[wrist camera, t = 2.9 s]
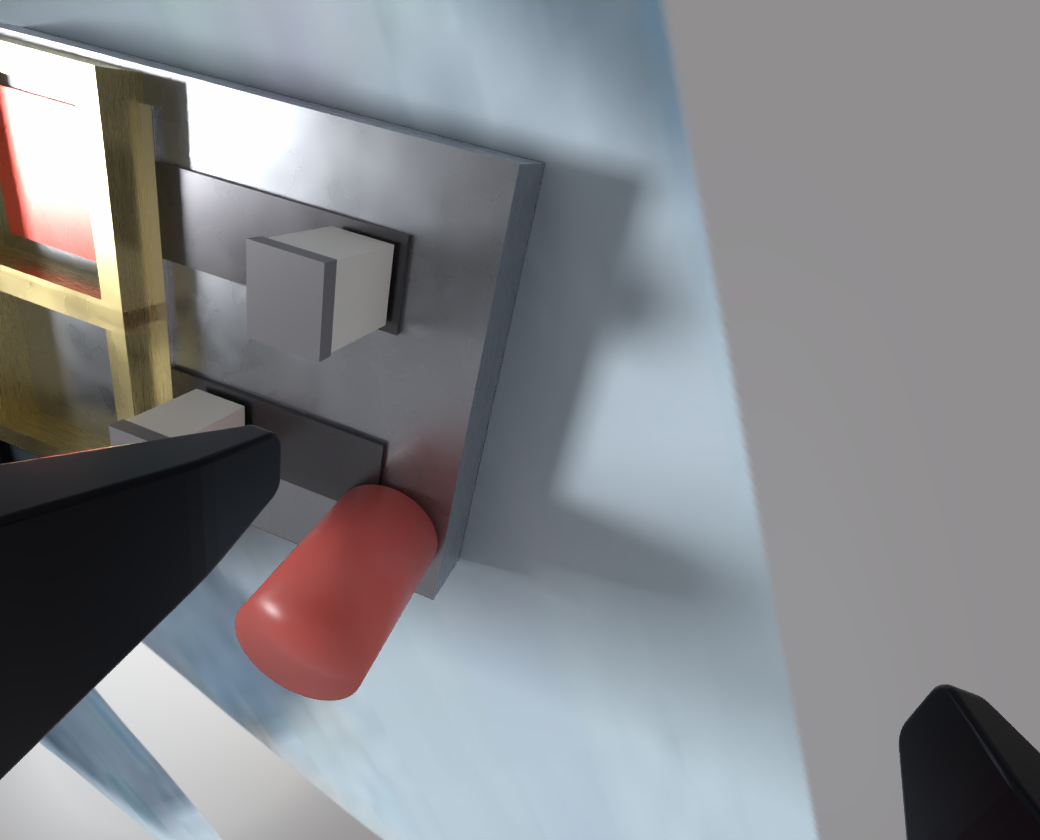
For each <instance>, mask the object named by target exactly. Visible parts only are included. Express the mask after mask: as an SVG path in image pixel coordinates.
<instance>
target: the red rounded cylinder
mask: <svg viewBox="0 0 1040 840" xmlns="http://www.w3.org/2000/svg"><path fill="white" fill-rule="evenodd" d="M437 546H438V540H437V534H436V530H435V528H434V525H433V523H432V521H431V519H430V518H429V516H428V515H427V513H426V512H425V511H424V510H423V509H422V508H421V507H420V506H419V505H418V504H417V503H416V502H415V501H414V500H412V499H411V498H410V497H408V496H406V495H405V494H403V493H401V492H399V491H397V490H395V489H392V488H389V487H386V486H382V485H373V484H369V485H361V486H357V487H354V488H352V489H350V490H349V491H347V492H346V493H345V494H344V495H343V496H342V497H341V498H340V499H339V500H338V502H337V503H336V504H335V505H334V506H333V507H332V508H331V509H330V510H329V511H328V513H327V514H326V515H325V516H324V517H323V518H322V519H321V520H320V521H319V522H318V524H317V525H316V526H315V527H314V528H313V529H312V530H311V531H310V532H309V533H308V535H307V536H306V537H305V538H304V539H303V540H302V541H301V542H300V543H299V545H298V546H297V547H296V548H295V549H294V550H293V551H292V552H291V553H290V554H289V556H288V557H287V558H286V559H285V560H284V561H283V562H282V563H281V564H280V565H279V567H278V568H277V569H276V570H275V571H274V572H273V573H272V574H271V575H270V576H269V578H268V579H267V580H266V581H265V582H264V583H263V584H262V585H261V586H260V587H259V589H258V590H257V591H256V592H255V593H254V594H253V595H252V596H251V597H250V598H249V600H248V601H247V602H246V603H245V604H244V605H243V606H242V607H241V609H240V610H239V611H238V613H237V616H236V620H235V630H236V635H237V638H238V641H239V643H240V645H241V647H242V649H243V650H244V652H245V653H246V655H247V656H248V658H249V659H250V660H251V661H252V662H253V663H254V665H255V666H256V667H257V668H258V669H259V670H261V671H262V672H263V673H264V674H265V675H266V676H268V677H269V678H270V679H272V680H273V681H274V682H276V683H278V684H279V685H281V686H282V687H284V688H286V689H288V690H290V691H292V692H295V693H297V694H299V695H302V696H305V697H309V698H312V699H318V700H327V701H330V700H340V699H344V698H347V697H349V696H350V695H352V694H353V693H355V692H356V691H357V689H358V688H359V687H360V685H361V683H362V681H363V680H364V678H365V676H366V674H367V673H368V671H369V669H370V668H371V666H372V664H373V662H374V661H375V659H376V657H377V655H378V654H379V652H380V650H381V649H382V647H383V645H384V643H385V642H386V640H387V638H388V636H389V635H390V633H391V631H392V629H393V628H394V626H395V624H396V623H397V621H398V619H399V617H400V616H401V614H402V612H403V610H404V609H405V607H406V605H407V604H408V602H409V600H410V598H411V597H412V595H413V593H414V591H415V590H416V588H417V586H418V585H419V583H420V581H421V579H422V578H423V576H424V574H425V572H426V571H427V569H428V567H429V566H430V564H431V562H432V560H433V559H434V557H435V555H436V551H437Z"/></svg>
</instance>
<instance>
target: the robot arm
mask: <svg viewBox="0 0 1040 840" xmlns="http://www.w3.org/2000/svg"><path fill="white" fill-rule="evenodd" d="M280 470H281V441H280V438H279V436H278V435H277V434H276V433H274V432H272V431H269V430H266V429H264V428H261V427H258V426H255V425H246V426H239V427H233V428H227V429H220V430H214V431H208V432H201V433H195V434H189V435H182V436H176V437H170V438H163V439H157V440H151V441H144V442H138V443H132V444H125V445H119V446H113V447H106V448H100V449H94V450H87V451H81V452H75V453H68V454H62V455H56V456H49V457H43V458H37V459H30V460H24V461H18V462H11V459H10V454H9V450H8V446H7V443H6V442H4V441H2V440H0V780H1V779H2V778H3V777H4V776H5V775H6V774H7V773H8V772H9V771H10V770H11V769H12V768H13V767H14V766H15V765H16V764H17V763H18V762H19V761H20V760H21V759H22V758H23V757H24V756H25V755H26V754H27V753H28V752H29V751H30V750H31V749H32V748H33V747H34V746H35V745H36V744H37V743H38V742H39V741H40V740H41V739H42V738H43V737H44V736H45V735H46V734H47V733H49V732H50V731H51V730H52V729H53V728H54V727H55V726H56V725H57V724H58V723H59V722H60V721H61V720H62V719H63V718H64V717H65V716H66V715H67V714H68V713H69V712H70V711H71V710H72V709H73V708H74V707H75V706H76V705H77V704H78V703H79V702H80V701H81V700H82V699H83V698H84V697H85V696H86V695H87V694H88V693H89V692H90V691H91V690H92V689H93V688H94V687H95V686H96V685H97V684H98V683H99V682H100V681H101V680H102V679H103V678H104V677H105V676H106V675H107V674H108V673H110V672H111V671H112V670H113V668H115V667H116V665H118V664H119V663H120V662H121V661H122V660H123V659H124V658H125V657H126V656H127V655H128V654H129V653H130V652H131V651H132V650H133V649H134V648H135V647H136V646H137V645H138V644H139V643H140V642H141V641H142V640H143V639H144V638H145V637H146V636H147V635H148V634H149V633H150V632H151V631H152V630H153V629H154V628H155V627H156V626H157V625H158V624H159V623H160V622H161V621H162V620H163V619H164V618H165V617H166V616H168V615H169V614H170V613H171V612H172V611H173V610H174V609H175V608H176V607H177V606H178V605H179V604H180V603H181V602H182V601H183V600H184V599H185V598H186V597H187V596H188V595H189V594H190V593H191V592H192V591H193V590H194V589H195V588H196V587H197V586H198V585H199V584H200V583H201V582H202V581H203V580H204V579H205V578H206V577H207V575H208V574H209V573H210V572H211V571H212V570H213V569H214V568H215V566H216V565H217V564H218V563H219V562H220V561H221V559H222V558H223V557H224V556H225V555H226V553H227V552H228V551H229V550H230V549H231V547H232V546H233V545H234V544H235V543H236V541H237V540H238V539H239V538H240V537H241V535H242V534H243V533H244V532H245V531H246V529H247V528H248V527H249V526H250V525H251V523H252V522H253V521H254V520H255V519H256V517H257V516H258V515H259V514H260V513H261V511H262V510H263V509H264V508H265V507H266V505H267V504H268V503H269V502H270V501H271V499H272V498H273V497H274V495H275V494H276V492H277V490H278V487H279V484H280ZM899 752H900V765H901V777H902V790H903V802H904V813H905V825H906V837H907V840H1040V753H1039V752H1038V751H1037V750H1036V749H1035V748H1034V747H1033V746H1032V745H1031V744H1030V743H1029V742H1028V741H1027V740H1026V739H1025V738H1024V737H1023V736H1022V735H1021V734H1020V733H1019V732H1018V731H1017V730H1016V729H1015V728H1014V727H1013V726H1012V725H1011V724H1010V723H1009V722H1008V721H1007V720H1006V719H1005V718H1004V717H1003V716H1002V715H1001V714H1000V713H999V712H998V711H997V710H995V709H994V708H993V707H992V706H991V705H990V704H989V703H988V702H987V701H986V700H985V699H983V698H982V697H980V696H978V695H975V694H973V693H970V692H967V691H965V690H962V689H959V688H956V687H954V686H951V685H939V686H937V687H935V688H934V689H933V690H932V691H931V692H930V694H929V695H928V696H927V697H926V698H925V700H924V701H923V702H922V703H921V704H920V705H919V707H918V708H917V709H916V710H915V711H914V713H913V714H912V715H911V716H910V717H909V719H908V720H907V721H906V722H905V724H904V725H903V727H902V730H901V732H900V738H899Z"/></svg>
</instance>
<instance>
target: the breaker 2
mask: <svg viewBox="0 0 1040 840" xmlns="http://www.w3.org/2000/svg"><path fill="white" fill-rule="evenodd" d="M393 252H394V245H393V244H390V243H387V242H383V241H380V240H377V239H373V238H370V237H367V236H363V235H360V234H357V233H353V232H350V231H347V230H343V229H340V228H337V227H333V226H329V227H323V228H318V229H312V230H307V231H301V232H296V233H290V234H285V235H279V236H274V237H268V238H266V237H263V236H257V237H251V238H246V280H247V338H250V339H253V340H256V341H259V342H262V343H265V344H268V345H271V346H273V347H276V348H279V349H282V350H285V351H288V352H291V353H294V354H297V355H299V356H302V357H305V358H308V359H311V360H314V361H317V362H321V361H323V360H325V359H327V358H328V357H330V356H331V353H332V352H334V351H336V350H338V349H340V348H342V347H344V346H346V345H348V344H350V343H351V342H353V341H355V340H357V339H359V338H361V337H363V336H365V335H367V334H369V333H371V332H373V331H375V330H377V329H379V328H381V327H383V326H385V325H386V316H387V307H388V298H389V288H390V279H391V270H392V261H393Z"/></svg>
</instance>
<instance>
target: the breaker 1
mask: <svg viewBox="0 0 1040 840" xmlns="http://www.w3.org/2000/svg"><path fill="white" fill-rule="evenodd" d="M239 426H245V406H242V405H240V404H237V403H234V402H232V401H229V400H226V399H224V398H221V397H218V396H215V395H213V394H210V393H207V392H205V391H202V390H199V389H195V390H192V391H190V392H188V393H186V394H184V395H181V396H179V397H177V398H175V399H172V400H170V401H168V402H166V403H163V404H161V405H159V406H157V407H155V408H152V409H150V410H148V411H146V412H143V413H141V414H139V415H137V416H134V417H132V418H130V419H128V420H124V419H122V420H120V421H118V422H115V423H113V424H111V425H109V434H110V441H111V447H113V446H119V445H125V444H132V443H138V442H144V441H151V440H157V439H163V438H170V437H176V436H182V435H189V434H195V433H201V432H208V431H214V430H220V429H227V428H233V427H239Z"/></svg>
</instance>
